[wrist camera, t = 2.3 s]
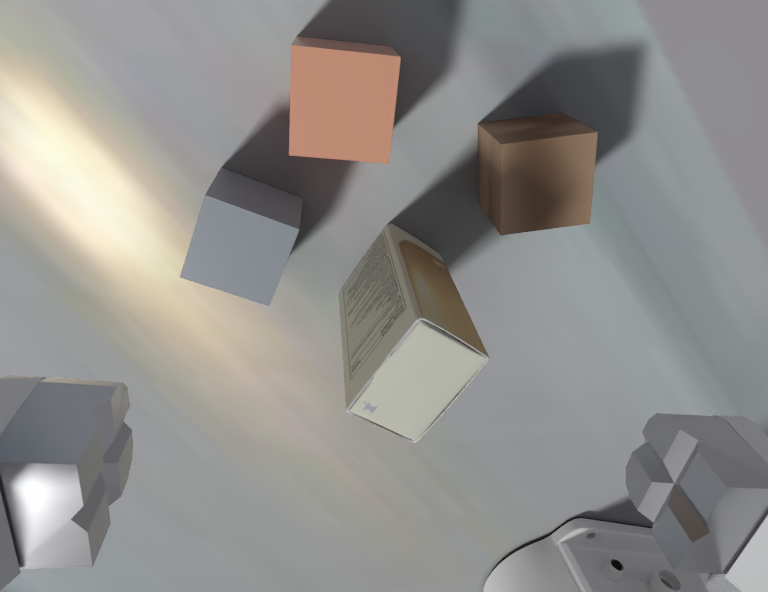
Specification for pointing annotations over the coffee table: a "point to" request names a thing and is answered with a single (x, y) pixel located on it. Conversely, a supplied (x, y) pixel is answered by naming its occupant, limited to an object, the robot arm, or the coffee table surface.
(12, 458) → the robot arm
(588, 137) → the walnut cube
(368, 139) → the terracotta cube
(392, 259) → the skincare box
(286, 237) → the slate cube
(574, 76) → the coffee table surface
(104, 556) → the coffee table surface
